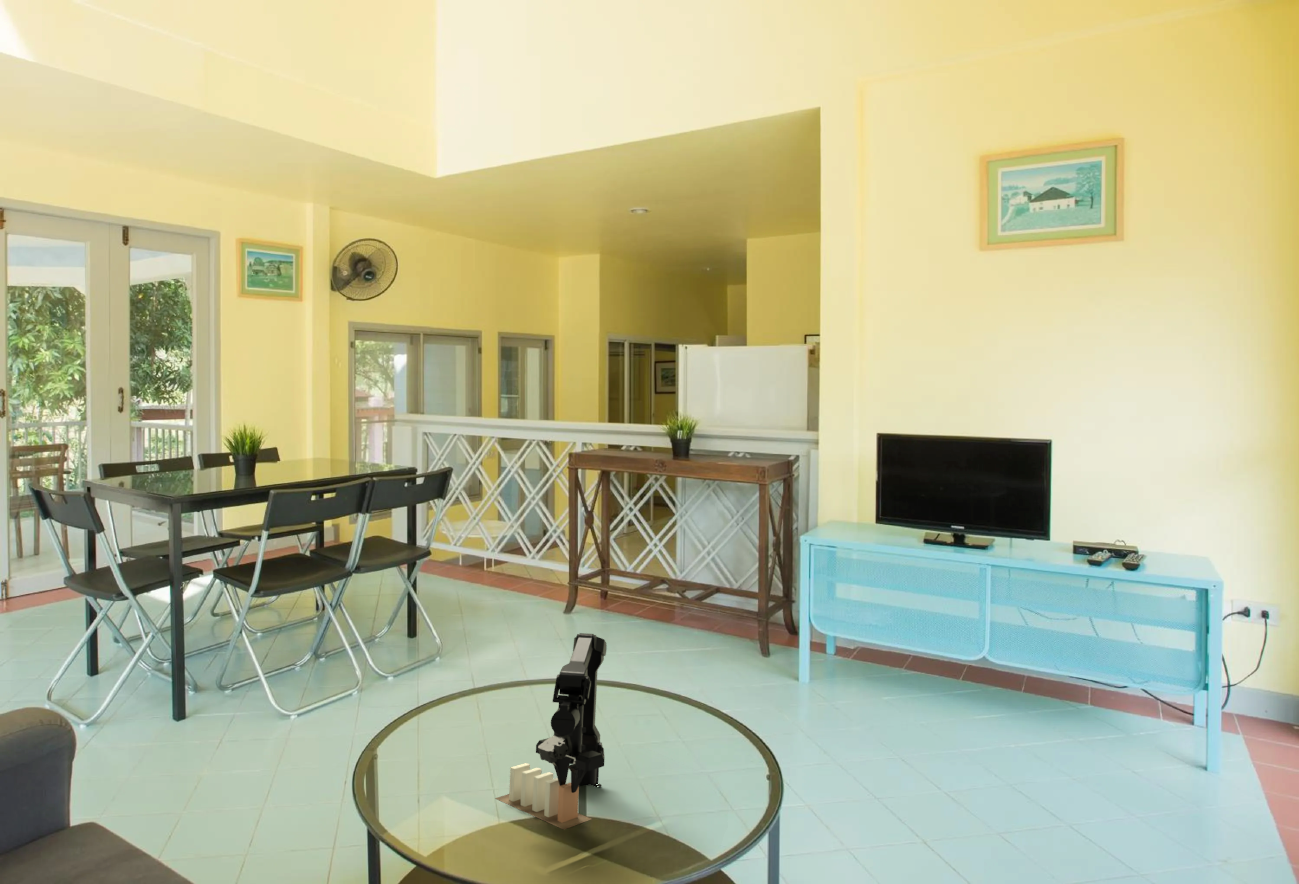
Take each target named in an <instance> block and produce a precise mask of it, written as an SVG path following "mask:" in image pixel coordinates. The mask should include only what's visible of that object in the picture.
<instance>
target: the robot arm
mask: <svg viewBox="0 0 1299 884" xmlns="http://www.w3.org/2000/svg"><path fill="white" fill-rule="evenodd" d="M607 647H608V646H607V642H606V640H605V639H603V638H602V637H599V636H597V634H594V633H587V632H586V633H582V632H579V633H577V634H576V637H575V636H574V638H573V646H572V653H571V657H570V660H569V662H568V663H567V664H564V665H563V666H562V668H561V669H560V671H559V674H557V675H556V678H555V684H554V690H553V695H552V703H558V708H557V709H556V711H555V712H554V713H553V715H552V716H551V718H550V727H551V729H552V731H553V736H550V737H547V738H543V739H539V740H538V742H537V743H536V744H535V753H536V754H538V755H539V758H540V760H542V761H545V762H548V763H549V764H551V765H553V767H554V770H555V772H556V773H555V774H556V778H558V781H559V785H560V786H561V785H565V784H567V779H568V775H569V771H570V783H571V792H572V793H574V792H576V790H577V788H578V786H579V787H580V786H592V787H594V786H595V788H597V786H602V784H601V783H599V776H600V775H599V773H600V772H599V771H600V769H601V768H602V767H605V749H604V747H603V742H601V734H600V732H599V730H598V728H597V725H596V713H597V712H596V711H597V710H596V708H597V687H598V685H597V684H598V671H599V668H600V667H601V665H602V663H604V660H605V657H606V655H607V649H608V648H607ZM598 783H599V784H598ZM596 784H598V785H596Z"/></svg>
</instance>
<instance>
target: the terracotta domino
mask: <svg viewBox="0 0 1299 884" xmlns="http://www.w3.org/2000/svg"><path fill="white" fill-rule="evenodd" d="M579 790H580V786H578V788H577V790H576V792H574V793H572V792H571V782H568V783H566V784H565V785H561V786H559V798H558V821H559V822H561V823H563V822H565V821H568V820H571V819H574V818H576V817H578V813H579V812H578V811H579V792H580V791H579Z"/></svg>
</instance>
